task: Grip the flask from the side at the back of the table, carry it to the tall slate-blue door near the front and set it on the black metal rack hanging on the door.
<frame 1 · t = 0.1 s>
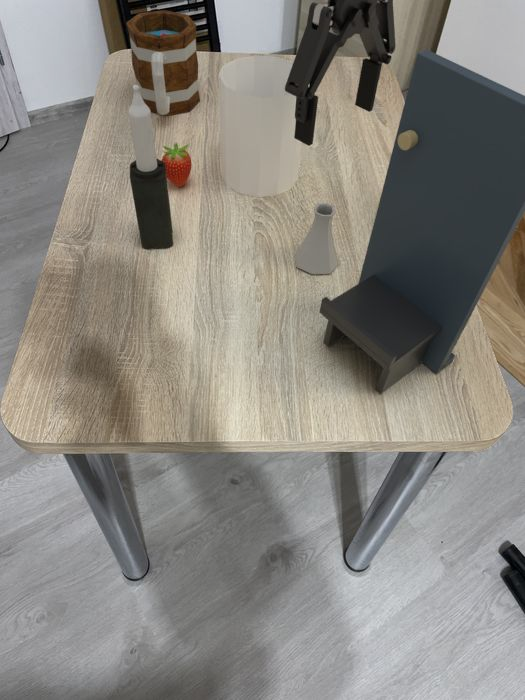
hand: (334, 123, 77), 19 cm above the table, tool pointing down, fingers open, 13 cm apart
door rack: (373, 352, 75), on the table
fruit: (178, 185, 97), on the table
container: (259, 174, 101), on the table
mug: (167, 108, 114), on the table
flask: (316, 261, 87), on the table
candle: (157, 239, 88), on the table
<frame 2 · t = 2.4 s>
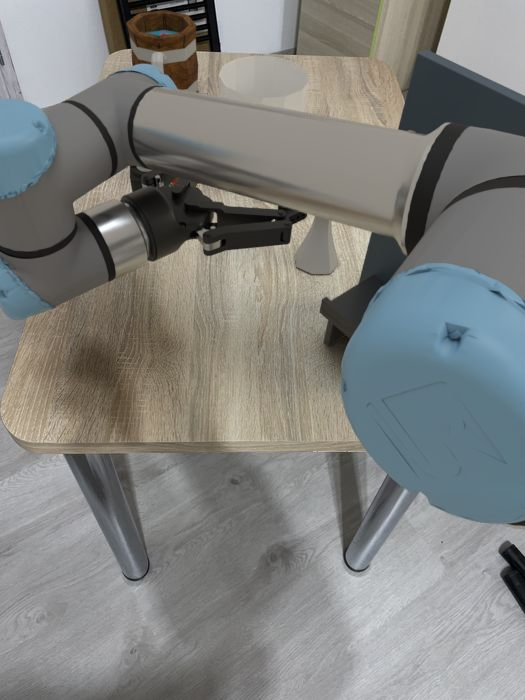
hand: (285, 167, 67), 20 cm above the table, tool horizontal, fingers open, 13 cm apart
nothing on the table moved.
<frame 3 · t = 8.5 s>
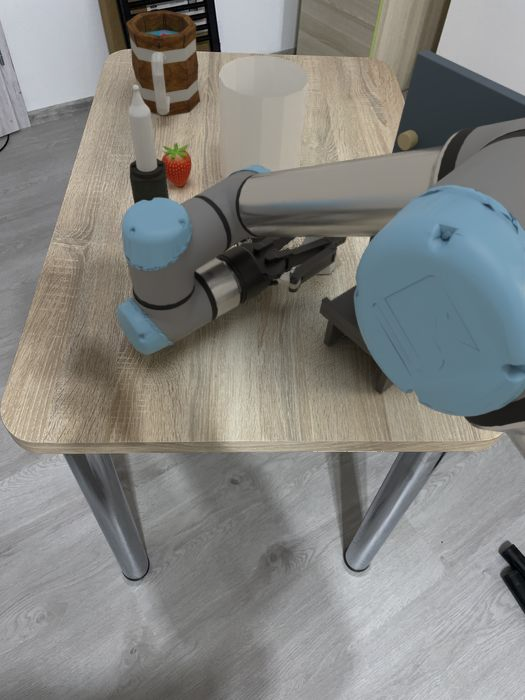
hand: (346, 217, 84), 6 cm above the table, tool horizontal, fingers closed on flask, 3 cm apart
flask: (316, 261, 87), on the table, touching gripper
everything else where it was.
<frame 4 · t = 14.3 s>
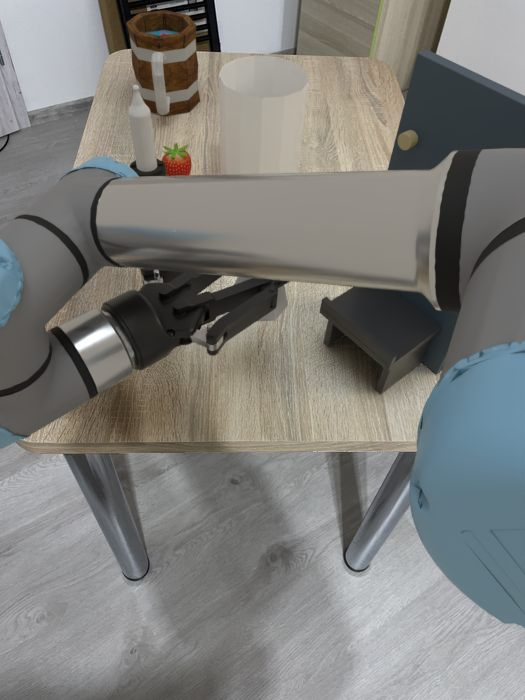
hand: (296, 244, 62), 17 cm above the table, tool horizontal, fingers closed on flask, 3 cm apart
flask: (258, 302, 65), point 11 cm above the table, touching gripper
everything else where it was.
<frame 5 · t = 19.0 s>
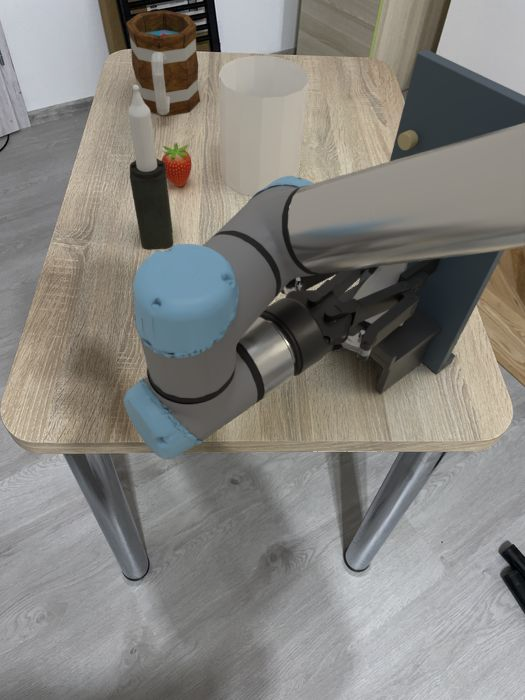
hand: (422, 251, 64), 16 cm above the table, tool horizontal, fingers closed on flask, 3 cm apart
flask: (380, 307, 67), point 10 cm above the table, touching gripper
everything else where it was.
when the fingers open (15 cm above the table, at t = 20.0 s): flask stays where it is, resting on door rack.
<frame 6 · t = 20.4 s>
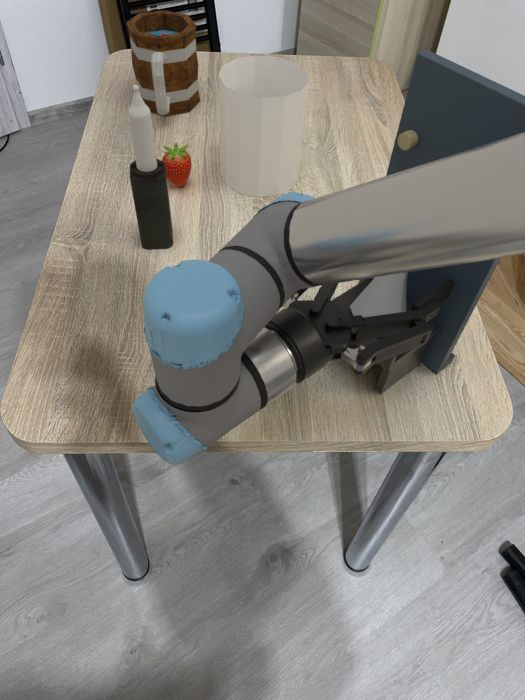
hand: (416, 265, 65), 14 cm above the table, tool horizontal, fingers open, 9 cm apart
flask: (376, 316, 68), point 9 cm above the table, touching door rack
everything else where it was.
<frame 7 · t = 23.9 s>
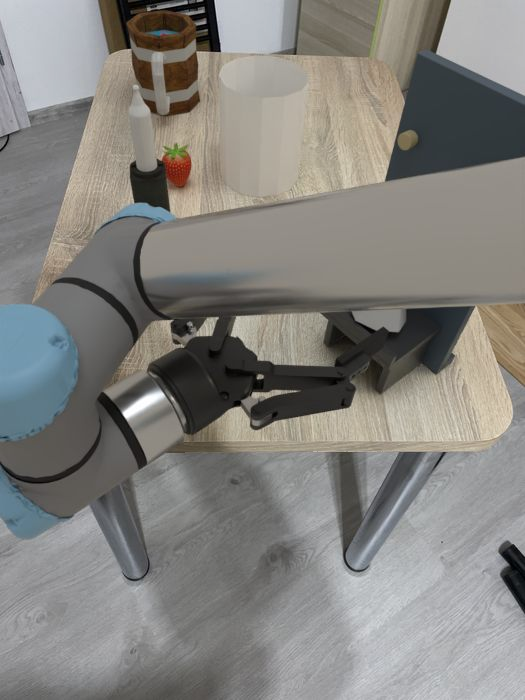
hand: (335, 297, 57), 18 cm above the table, tool horizontal, fingers open, 13 cm apart
nothing on the table moved.
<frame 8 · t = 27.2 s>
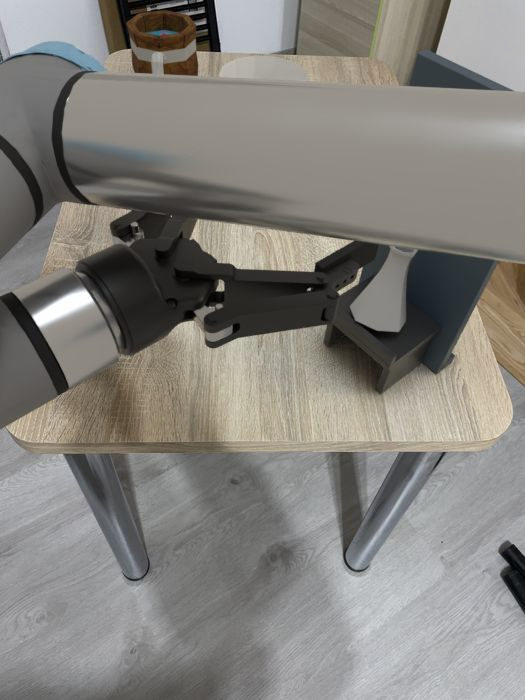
hand: (318, 202, 47), 30 cm above the table, tool horizontal, fingers open, 13 cm apart
nothing on the table moved.
at the end: flask 1.0 cm off-centre on the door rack, point 8.6 cm above the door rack's base; flask tilted 13°; the gripper is holding nothing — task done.
